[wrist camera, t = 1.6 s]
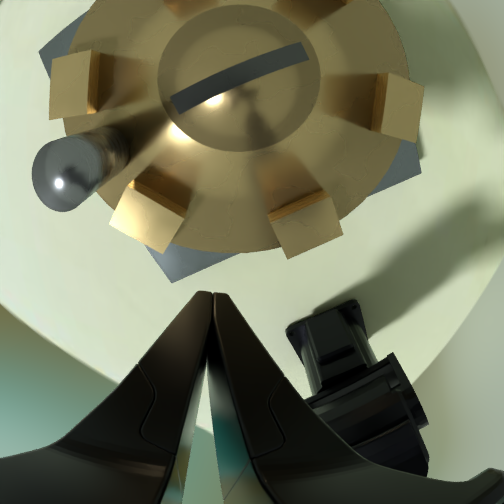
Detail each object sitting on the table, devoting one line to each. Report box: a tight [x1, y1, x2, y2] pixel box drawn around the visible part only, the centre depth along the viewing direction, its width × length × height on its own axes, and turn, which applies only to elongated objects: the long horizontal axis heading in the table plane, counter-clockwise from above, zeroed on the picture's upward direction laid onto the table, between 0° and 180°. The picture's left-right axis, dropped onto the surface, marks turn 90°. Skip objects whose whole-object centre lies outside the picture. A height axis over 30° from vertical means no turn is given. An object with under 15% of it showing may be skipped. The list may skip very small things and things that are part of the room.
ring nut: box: [32, 0, 424, 259], centre depth 9 cm, size 16×16×7 cm
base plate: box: [39, 10, 421, 283], centre depth 13 cm, size 18×18×2 cm
